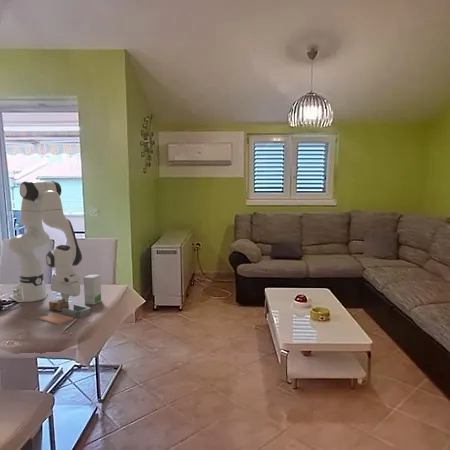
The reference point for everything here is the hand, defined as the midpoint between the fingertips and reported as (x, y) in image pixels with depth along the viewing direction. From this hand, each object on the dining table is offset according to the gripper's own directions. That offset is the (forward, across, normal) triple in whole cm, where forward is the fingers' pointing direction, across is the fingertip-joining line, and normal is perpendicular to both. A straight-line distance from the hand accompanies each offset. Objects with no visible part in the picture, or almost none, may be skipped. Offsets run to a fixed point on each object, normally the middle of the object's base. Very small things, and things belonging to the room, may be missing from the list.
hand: (65, 301), depth 222 cm
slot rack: (+5, +8, 0) cm, 9 cm away
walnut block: (+5, -5, 0) cm, 7 cm away
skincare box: (+6, 0, +18) cm, 19 cm away
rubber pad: (+5, +7, -10) cm, 14 cm away
